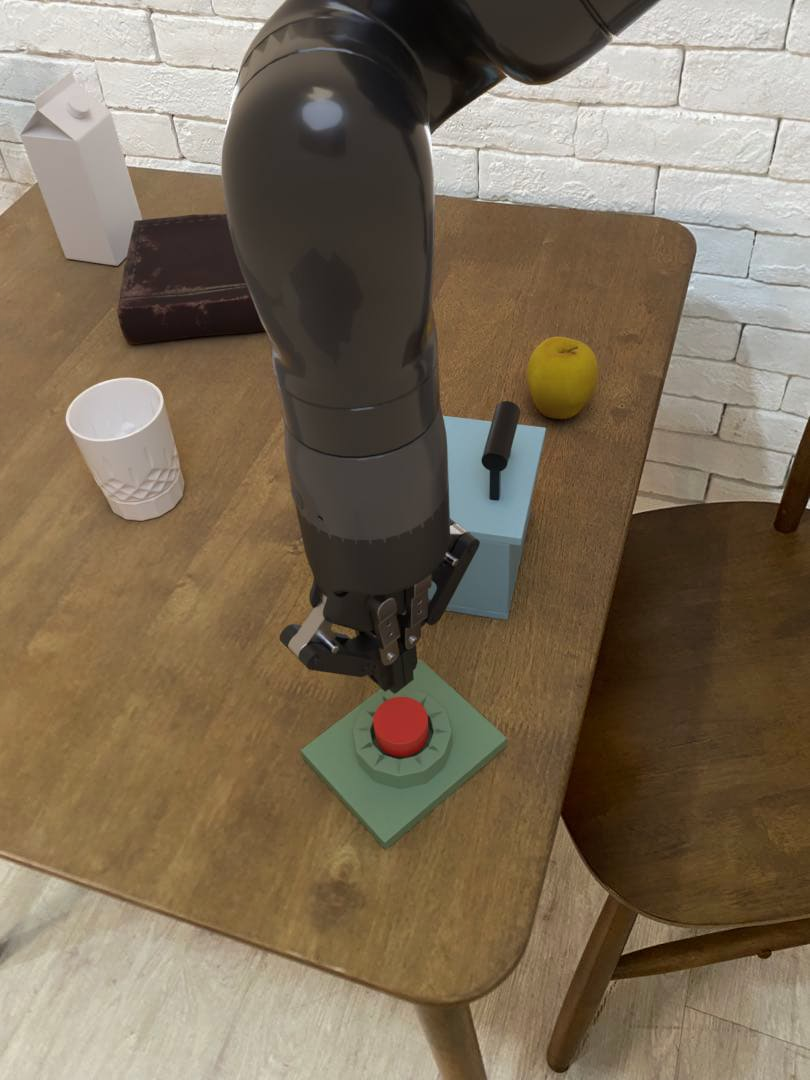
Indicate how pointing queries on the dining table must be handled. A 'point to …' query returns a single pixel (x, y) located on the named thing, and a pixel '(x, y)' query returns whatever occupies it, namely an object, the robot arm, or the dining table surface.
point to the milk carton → (81, 173)
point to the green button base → (403, 782)
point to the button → (401, 726)
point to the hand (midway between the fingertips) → (394, 678)
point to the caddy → (488, 580)
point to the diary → (183, 281)
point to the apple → (562, 376)
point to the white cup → (128, 446)
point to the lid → (493, 473)
